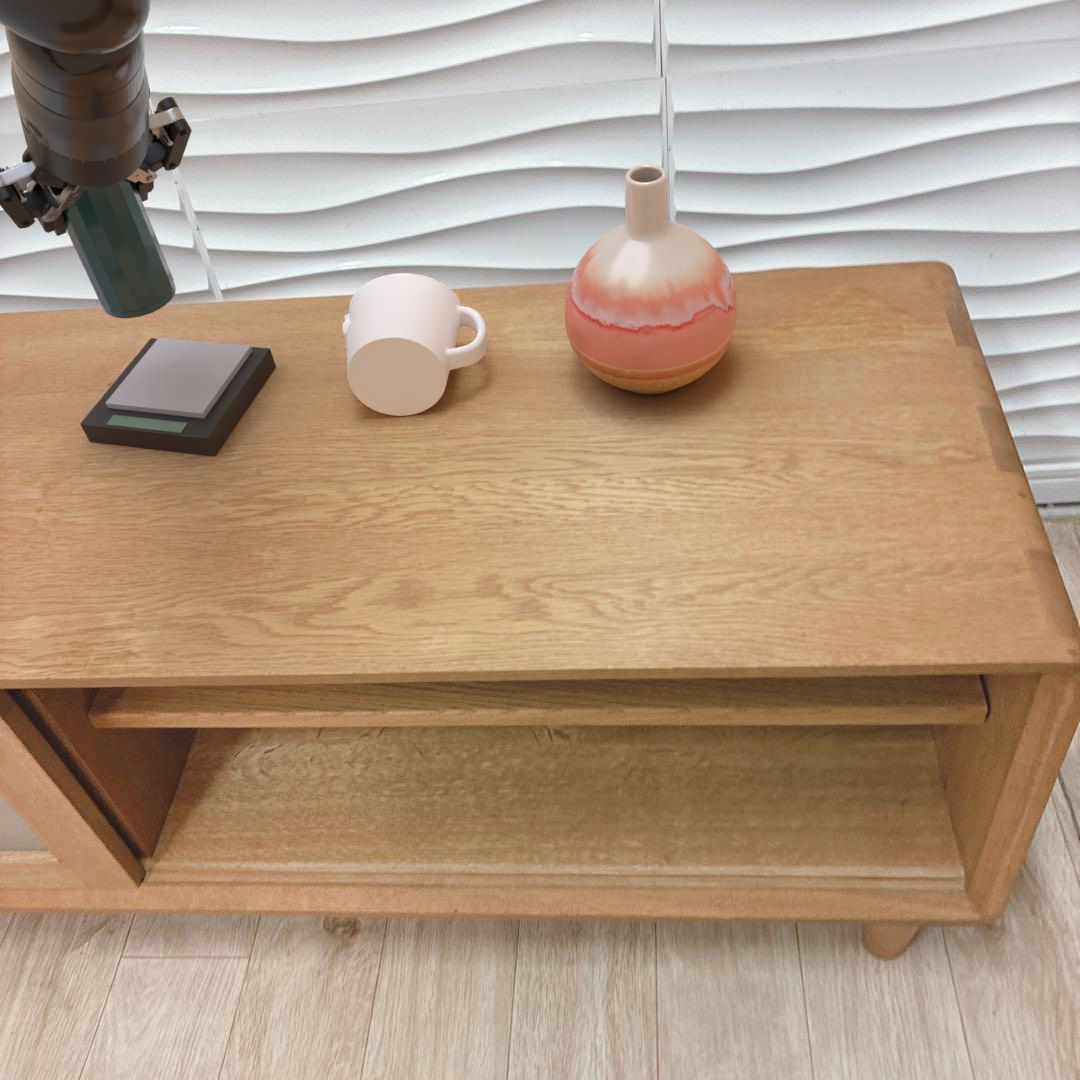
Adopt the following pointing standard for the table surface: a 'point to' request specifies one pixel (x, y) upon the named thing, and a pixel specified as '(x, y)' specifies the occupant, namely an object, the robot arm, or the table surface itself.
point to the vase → (650, 296)
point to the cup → (120, 250)
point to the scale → (180, 396)
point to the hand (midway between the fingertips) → (95, 206)
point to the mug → (407, 342)
